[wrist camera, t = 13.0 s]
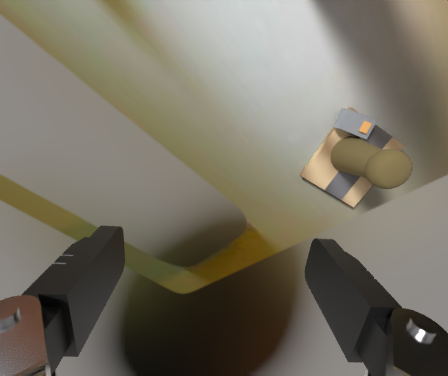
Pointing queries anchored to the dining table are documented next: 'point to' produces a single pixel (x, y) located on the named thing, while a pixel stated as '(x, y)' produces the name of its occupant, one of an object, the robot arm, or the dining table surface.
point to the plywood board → (337, 180)
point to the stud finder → (354, 123)
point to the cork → (371, 162)
